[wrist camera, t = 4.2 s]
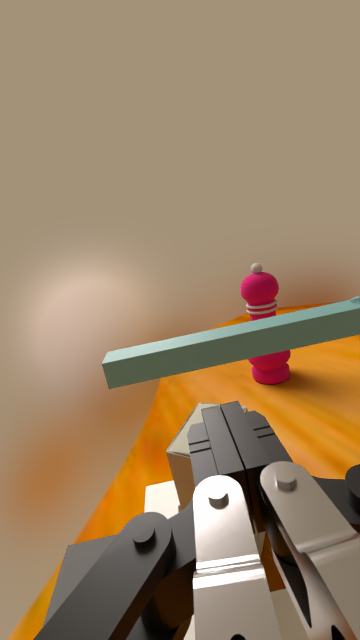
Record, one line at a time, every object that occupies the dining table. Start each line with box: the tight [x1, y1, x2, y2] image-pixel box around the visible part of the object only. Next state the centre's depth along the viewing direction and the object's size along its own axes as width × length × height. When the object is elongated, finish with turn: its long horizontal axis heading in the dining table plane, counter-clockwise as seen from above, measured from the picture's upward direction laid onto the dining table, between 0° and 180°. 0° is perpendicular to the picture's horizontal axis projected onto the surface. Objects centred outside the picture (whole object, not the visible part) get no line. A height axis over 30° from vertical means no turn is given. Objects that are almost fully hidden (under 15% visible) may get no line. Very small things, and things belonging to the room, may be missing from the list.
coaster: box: [43, 534, 118, 627], centre depth 24 cm, size 7×7×1 cm
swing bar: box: [102, 296, 360, 389], centre depth 20 cm, size 21×3×2 cm, turn 94°
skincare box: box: [166, 403, 266, 559], centre depth 23 cm, size 6×4×12 cm
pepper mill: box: [241, 263, 290, 384], centre depth 50 cm, size 7×7×20 cm
